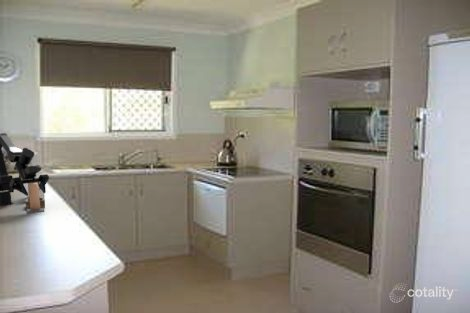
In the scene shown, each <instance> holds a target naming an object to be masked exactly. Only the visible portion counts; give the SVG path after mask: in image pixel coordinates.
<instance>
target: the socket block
mask: <svg viewBox="0 0 470 313" xmlns="http://www.w3.org/2000/svg"><path fill="white" fill-rule="evenodd" d="M39 200H40V208H44V209H45V208H46V202H45V201H46V199H45V197H44V198H39ZM27 209H31V208H30V199H29V198H25V210H27Z"/></svg>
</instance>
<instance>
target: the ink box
mask: <svg viewBox="0 0 470 313" xmlns="http://www.w3.org/2000/svg"><path fill="white" fill-rule="evenodd" d="M36 183H37V182H36ZM28 184H31V183H28ZM28 184H27V185H28ZM27 189H28V190H27V193H28V195H29V188H27ZM38 189H39V198H45V193H43V192H42V190H41V189H40V188H39V185H38ZM28 199H30V198H29V197H28Z"/></svg>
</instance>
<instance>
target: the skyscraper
mask: <svg viewBox="0 0 470 313" xmlns="http://www.w3.org/2000/svg"><path fill="white" fill-rule="evenodd" d="M30 150H31V151H33V152H34V157H33V159H32V161H31V163H30V164H28V166H36V165H41V164H40V157H39V152H37V151H36V150H33V149H30ZM40 172H41V171H39V172H37V173H36V177H35V178H39V176H40ZM27 198H29V195H28V196H27Z"/></svg>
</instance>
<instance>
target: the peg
mask: <svg viewBox="0 0 470 313" xmlns="http://www.w3.org/2000/svg"><path fill="white" fill-rule="evenodd" d="M27 187H28V188H29V197H28V199H29V198H30V208H31V210H39V209H40V200H39V189H38V183H31V184H27ZM28 188H27V189H28Z"/></svg>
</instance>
